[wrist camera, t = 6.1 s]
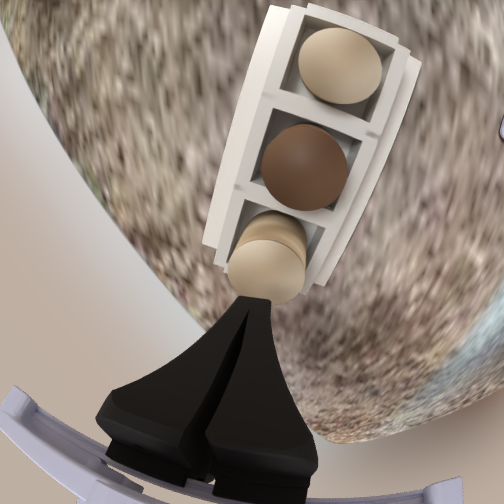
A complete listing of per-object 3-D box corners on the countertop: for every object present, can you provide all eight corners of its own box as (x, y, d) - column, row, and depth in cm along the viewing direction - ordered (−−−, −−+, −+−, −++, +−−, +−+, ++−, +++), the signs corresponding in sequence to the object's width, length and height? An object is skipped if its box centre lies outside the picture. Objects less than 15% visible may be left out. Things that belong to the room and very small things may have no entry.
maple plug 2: (373, 59, 13) (391, 48, 9) (354, 114, 15) (367, 116, 11) (311, 35, 13) (311, 17, 9) (292, 90, 15) (287, 86, 11)
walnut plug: (348, 137, 15) (360, 147, 11) (325, 196, 17) (328, 222, 13) (283, 113, 15) (276, 115, 11) (263, 174, 17) (251, 194, 13)
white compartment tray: (417, 63, 12) (439, 57, 9) (324, 280, 22) (324, 309, 19) (271, 8, 13) (263, -10, 10) (205, 238, 22) (188, 262, 19)
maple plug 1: (316, 223, 17) (317, 257, 13) (293, 274, 19) (288, 314, 15) (253, 201, 17) (238, 229, 13) (237, 254, 19) (220, 290, 15)
